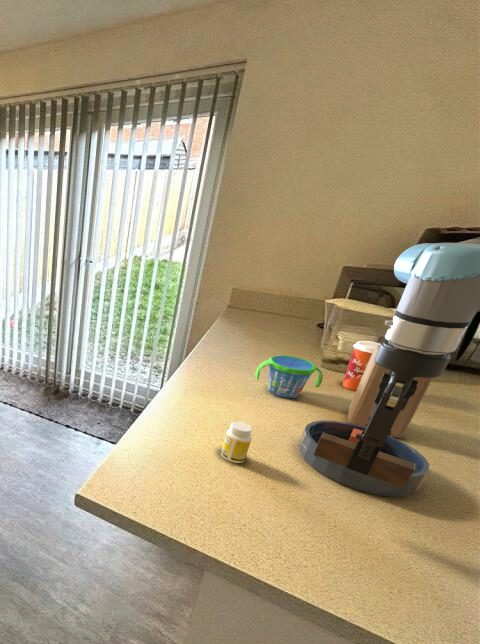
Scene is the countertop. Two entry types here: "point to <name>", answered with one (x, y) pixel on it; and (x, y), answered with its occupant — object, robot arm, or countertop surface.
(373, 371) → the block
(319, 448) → the stick
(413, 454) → the bowl
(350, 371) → the paper cup
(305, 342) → the countertop surface
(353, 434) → the block terracotta
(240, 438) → the supplement bottle
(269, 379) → the snack cup
